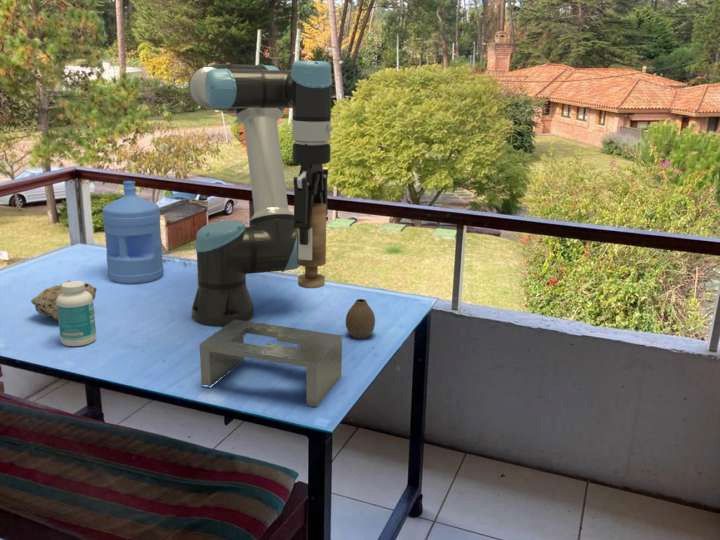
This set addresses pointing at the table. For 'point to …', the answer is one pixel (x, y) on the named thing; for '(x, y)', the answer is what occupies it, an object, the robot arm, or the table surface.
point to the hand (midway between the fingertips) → (311, 254)
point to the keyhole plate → (275, 354)
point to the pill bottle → (76, 314)
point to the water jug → (133, 238)
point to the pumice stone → (54, 299)
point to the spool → (315, 249)
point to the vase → (360, 320)
